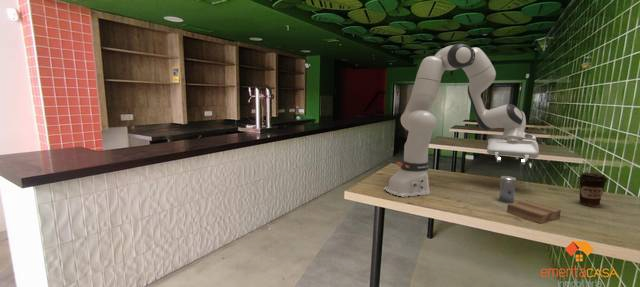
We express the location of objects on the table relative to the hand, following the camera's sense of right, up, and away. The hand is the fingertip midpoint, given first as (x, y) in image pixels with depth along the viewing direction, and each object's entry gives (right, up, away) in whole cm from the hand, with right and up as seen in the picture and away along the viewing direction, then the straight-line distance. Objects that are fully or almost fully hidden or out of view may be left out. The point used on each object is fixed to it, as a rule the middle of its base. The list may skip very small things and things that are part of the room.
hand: (510, 162), depth 133 cm
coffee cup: (+25, -17, -13) cm, 32 cm away
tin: (-7, -16, -7) cm, 19 cm away
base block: (-6, -19, -22) cm, 30 cm away
